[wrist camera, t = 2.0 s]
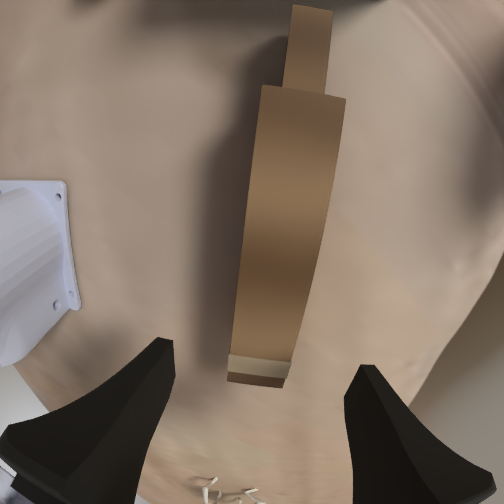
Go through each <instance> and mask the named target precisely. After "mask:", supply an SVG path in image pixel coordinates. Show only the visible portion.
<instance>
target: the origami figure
mask: <svg viewBox="0 0 504 504" xmlns="http://www.w3.org/2000/svg"><path fill="white" fill-rule="evenodd" d="M217 479H218V478H217V477H215V478H214V479H213V480H212V482H211V483H209V484H207V485H206V486H204V487H202V489H203V500H204V504H209V503H208V488H209V487H210V486H211V485H212V484H214V483H215V481H216V480H217ZM256 490H259V489H252V490H249V491H246V492H244V493H245V494H247V495H248V496H249V497H250V498H252V499H253V500H254V501H256V502H257V503H255V504H266V502H264V501H262V500H260V499H258V498H257V497H255V496H253V495H252V494H250V492H253V491H256ZM221 496H222V493H221V491H219V496H218V497H217V498H216V500H215V501H214V503H213V504H217V502H218V501H219V499H220V498H221ZM241 503H242V498H239V503H238V504H241Z"/></svg>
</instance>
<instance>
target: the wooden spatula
mask: <svg viewBox="0 0 504 504" xmlns="http://www.w3.org/2000/svg"><path fill="white" fill-rule="evenodd" d="M332 18H333V11H330V10H325V9H320V8H314V7H309V6H303V5H296V4H293V6H292V14H291V22H290V29H289V37H288V45H287V53H286V61H285V68H284V76H283V84H282V87H278V86H270V85H262V90H261V98H260V105H259V113H258V121H257V129H256V136H255V144H254V152H253V160H252V168H251V176H250V184H249V192H248V200H247V209H246V217H245V225H244V234H243V242H242V251H241V259H240V268H239V277H238V285H237V294H236V303H235V312H234V321H233V330H232V340H231V347H230V351H229V357H228V367H227V371H228V377H227V381H229V382H235V383H242V384H249V385H257V386H265V387H274V388H283V385H284V382H285V378H286V379H287V376H288V372H289V369H290V366H291V358H292V355H293V351H294V348H295V344H296V341H297V337H298V334H299V330H300V327H301V323H302V319H303V315H304V312H305V308H306V304H307V300H308V296H309V292H310V288H311V284H312V280H313V276H314V272H315V267H316V263H317V259H318V254H319V250H320V245H321V241H322V236H323V232H324V227H325V222H326V217H327V212H328V207H329V202H330V197H331V192H332V186H333V181H334V175H335V169H336V164H337V158H338V152H339V145H340V139H341V132H342V125H343V118H344V111H345V104H346V99H344V98H339V97H335V96H330V95H326V94H324V93H325V85H326V77H327V68H328V59H329V50H330V40H331V29H332Z"/></svg>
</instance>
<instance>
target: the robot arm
mask: <svg viewBox="0 0 504 504" xmlns="http://www.w3.org/2000/svg"><path fill="white" fill-rule="evenodd" d="M59 194H60V195H61V199H60V197H59ZM72 292H73V293H74V294H73V293H72ZM80 308H81V300H80V296H79V290H78V285H77V280H76V274H75V268H74V262H73V255H72V247H71V239H70V230H69V219H68V206H67V188H66V184H65V183H64V182H63V181H60V180H0V367H6V366H9V365H12V364H14V363H16V362H18V361H20V360H21V359H23V358H24V357H25V356H26V355H28V353H29V352H30V351H31V350H32V349H33V348H34V347H35V346H36V345H37V343H38V342H39V341H40V340H41V339H42V338H43V337H44V336H45V335H46V333H47V332H48V331H49V330H50V329H51V328H52V327H53V326H54V325H55V324H56V323H57V321H58V320H59V319H60V318H61V317H62V316H63V315H64V314H65V313H66V312H67V311H68V310H69V309H72V310H75V311H78V310H79V309H80ZM174 379H175V363H174V349H173V340H169V339H164V338H160V337H157V338H156V339H155V340H154V341H153V342H151V343H150V344H149V345H148V346H147V347H146V348H145V349H144V350H143V351H142V352H141V353H140V354H139V355H137V356H136V357H135V358H134V359H133V360H132V361H131V362H129V363H128V364H127V365H126V366H125V367H124V368H122V369H121V370H120V371H119V372H117V373H116V374H115V375H114V376H112V377H111V378H110V379H108V380H107V381H106V382H104V383H103V384H102V385H100V386H99V387H97V388H96V389H94V390H93V391H91V392H89V393H88V394H86V395H85V396H83V397H81V398H79V399H78V400H76V401H74V402H72V403H70V404H68V405H66V406H64V407H62V408H60V409H58V410H55V411H53V412H50V413H48V414H45V415H42V416H40V417H37V418H34V419H30V420H27V421H23V422H19V423H15V424H10V425H8V426H7V428H6V429H5V431H4V432H3V434H2V435H1V437H0V458H1V459H2V460H3V461H4V462H5V463H7V464H8V465H9V466H10V467H11V468H12V469H13V470H14V471H16V472H17V474H16V476H15V477H13V476H12V475H11V474H10V473H8V472H7V471H6V470H5V469H3V468H2V467H1V466H0V504H134V502H135V496H136V492H137V487H138V483H139V479H140V475H141V471H142V467H143V464H144V460H145V456H146V453H147V449H148V447H149V444H150V441H151V439H152V437H153V434H154V432H155V430H156V427H157V425H158V423H159V420H160V418H161V416H162V413H163V411H164V409H165V406H166V404H167V402H168V399H169V397H170V393H171V390H172V387H173V383H174ZM344 413H345V423H346V429H347V435H348V441H349V447H350V453H351V460H352V468H353V504H479V503H480V502H482V501H484V500H485V499H487V498H488V497H489V496H491V495H492V494H493V493H495V491H496V485H495V482H494V479H493V476H492V473H491V472H488V471H486V470H484V469H482V468H480V467H478V466H476V465H474V464H472V463H471V462H469V461H467V460H466V459H464V458H463V457H461V456H459V455H458V454H456V453H455V452H454V451H452V450H451V449H450V448H449V447H447V446H446V445H444V444H443V443H442V442H441V441H440V440H439V439H437V438H436V437H435V436H434V435H433V434H432V433H431V432H430V431H429V430H428V429H427V428H426V427H425V426H424V425H423V424H422V423H421V422H420V421H419V420H418V419H417V418H416V416H415V415H414V414H413V413H412V412H411V411H410V410H409V408H408V407H407V406H406V405H405V404H404V402H403V401H402V400H401V399H400V397H399V396H398V395H397V394H396V392H395V391H394V390H393V388H392V387H391V386H390V384H389V383H388V382H387V380H386V379H385V378H384V376H383V375H382V374H381V373H380V371H379V370H378V369H377V368H376V366H375V365H363V364H361V365H360V367H359V369H358V371H357V373H356V375H355V377H354V379H353V381H352V382H351V384H350V386H349V388H348V390H347V392H346V394H345V396H344Z"/></svg>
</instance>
